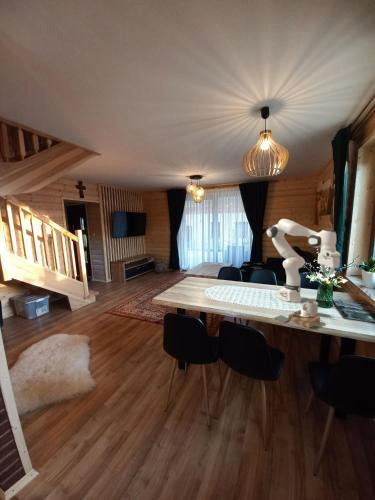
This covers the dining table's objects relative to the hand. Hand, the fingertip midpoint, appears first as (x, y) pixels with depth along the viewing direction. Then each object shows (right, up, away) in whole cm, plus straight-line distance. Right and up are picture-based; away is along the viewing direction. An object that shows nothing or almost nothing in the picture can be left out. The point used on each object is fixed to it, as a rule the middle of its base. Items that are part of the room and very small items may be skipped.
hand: (327, 272), depth 142 cm
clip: (-19, -29, +1) cm, 35 cm away
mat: (-31, -34, +2) cm, 46 cm away
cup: (-6, -33, +11) cm, 35 cm away
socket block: (-18, -34, -2) cm, 39 cm away
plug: (-18, -34, -2) cm, 39 cm away
